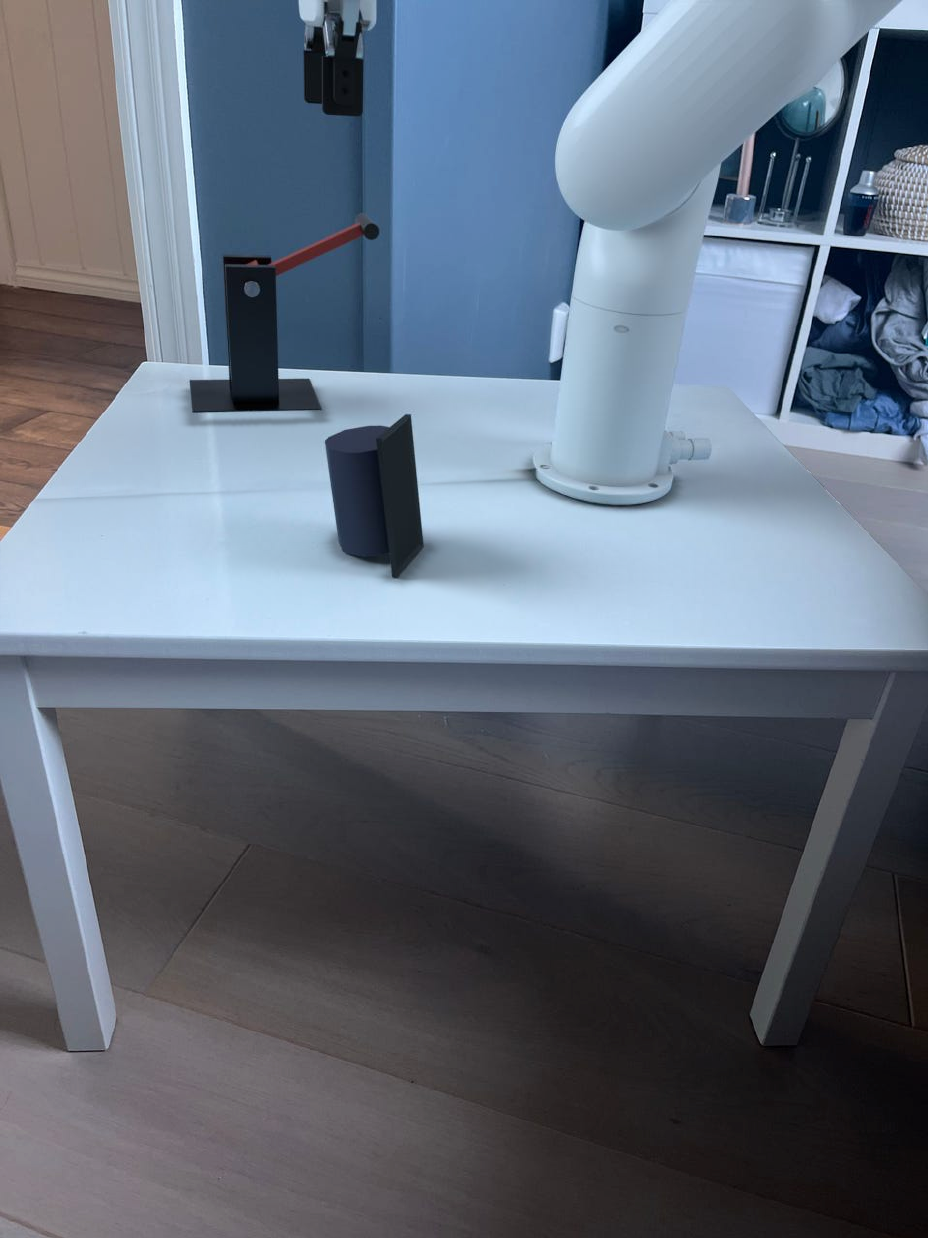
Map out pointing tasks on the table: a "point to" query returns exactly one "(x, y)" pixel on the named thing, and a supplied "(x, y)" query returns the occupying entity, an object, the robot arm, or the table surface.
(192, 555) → the table surface
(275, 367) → the bracket
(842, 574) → the table surface
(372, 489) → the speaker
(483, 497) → the table surface
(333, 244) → the lever
